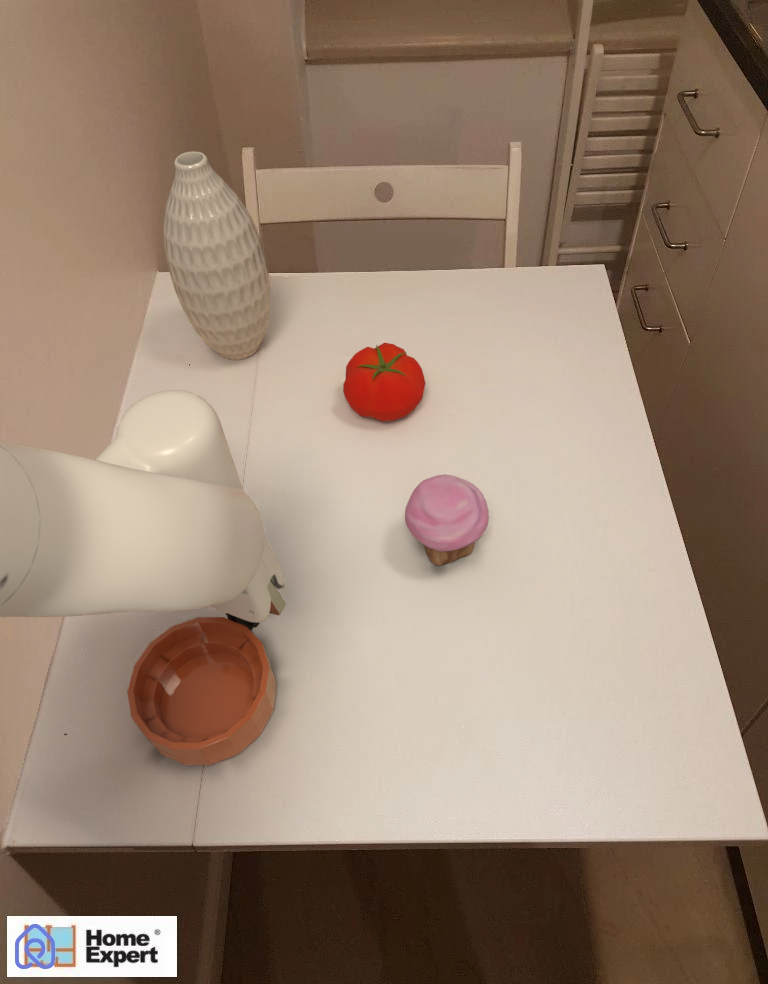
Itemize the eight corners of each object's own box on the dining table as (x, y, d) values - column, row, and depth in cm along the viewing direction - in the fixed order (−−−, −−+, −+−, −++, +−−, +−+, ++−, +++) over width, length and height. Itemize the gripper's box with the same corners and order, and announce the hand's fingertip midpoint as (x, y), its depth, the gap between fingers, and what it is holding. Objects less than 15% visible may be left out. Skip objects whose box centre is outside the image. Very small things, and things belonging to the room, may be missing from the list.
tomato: (409, 439, 93) (408, 397, 87) (332, 419, 96) (326, 377, 90) (436, 385, 99) (436, 343, 93) (363, 368, 102) (359, 326, 96)
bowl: (232, 789, 66) (220, 772, 63) (117, 734, 70) (99, 715, 66) (299, 666, 74) (292, 644, 70) (192, 622, 78) (179, 599, 74)
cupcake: (428, 591, 79) (428, 539, 71) (394, 534, 84) (390, 479, 76) (499, 560, 81) (506, 506, 73) (461, 506, 86) (464, 449, 78)
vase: (215, 387, 101) (155, 198, 79) (183, 338, 108) (121, 152, 86) (296, 354, 104) (261, 164, 83) (260, 309, 112) (220, 123, 90)
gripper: (106, 525, 61) (169, 627, 75) (259, 584, 56) (294, 680, 71) (158, 462, 65) (208, 570, 79) (304, 512, 60) (328, 616, 75)
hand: (248, 621), depth 75 cm, fingers closed
